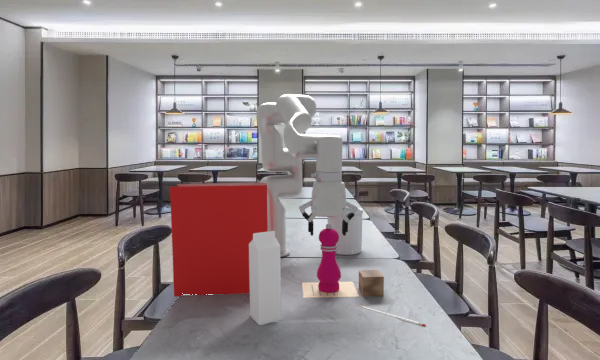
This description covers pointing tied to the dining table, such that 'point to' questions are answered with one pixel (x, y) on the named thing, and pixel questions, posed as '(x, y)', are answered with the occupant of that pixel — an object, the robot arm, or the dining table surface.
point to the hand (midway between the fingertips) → (327, 234)
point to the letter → (344, 291)
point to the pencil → (397, 317)
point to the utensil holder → (348, 233)
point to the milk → (265, 278)
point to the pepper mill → (328, 261)
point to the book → (215, 235)
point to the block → (371, 283)
